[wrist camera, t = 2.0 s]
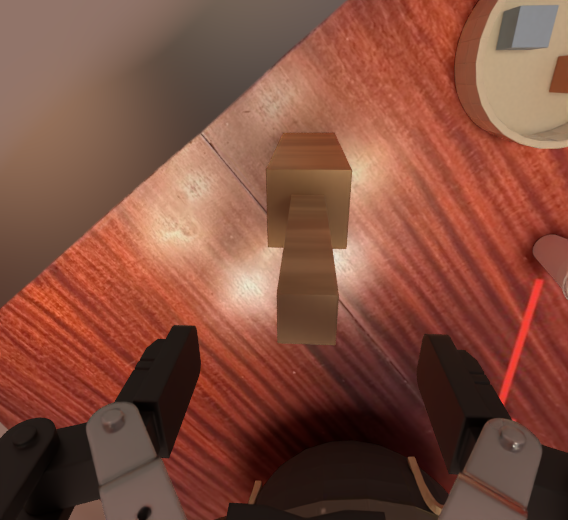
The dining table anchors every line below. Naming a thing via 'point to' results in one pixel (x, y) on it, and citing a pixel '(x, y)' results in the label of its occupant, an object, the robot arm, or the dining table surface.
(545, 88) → the round beige tray
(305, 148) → the oak stand
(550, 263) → the smoothie
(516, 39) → the bluegrey block
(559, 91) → the terracotta block
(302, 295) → the wooden square bar
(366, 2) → the dining table surface
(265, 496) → the bowl
